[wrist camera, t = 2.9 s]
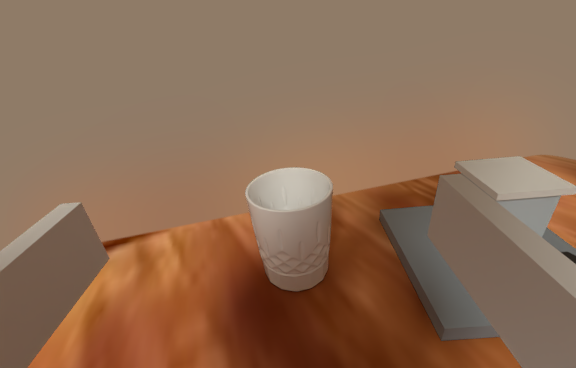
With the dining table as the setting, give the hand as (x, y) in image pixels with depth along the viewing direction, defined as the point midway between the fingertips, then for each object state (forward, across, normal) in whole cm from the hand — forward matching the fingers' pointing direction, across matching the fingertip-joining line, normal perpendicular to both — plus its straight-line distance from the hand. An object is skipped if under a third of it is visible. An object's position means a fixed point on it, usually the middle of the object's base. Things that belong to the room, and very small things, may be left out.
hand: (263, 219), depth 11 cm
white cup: (+13, +1, -16) cm, 21 cm away
